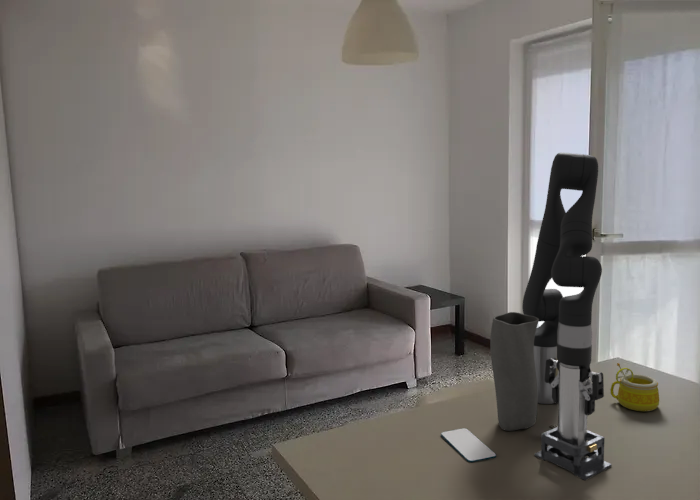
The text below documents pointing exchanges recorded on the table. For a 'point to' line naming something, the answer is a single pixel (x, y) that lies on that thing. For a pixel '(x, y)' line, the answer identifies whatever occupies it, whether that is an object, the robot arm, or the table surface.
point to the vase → (514, 369)
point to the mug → (636, 391)
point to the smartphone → (468, 445)
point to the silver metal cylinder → (571, 409)
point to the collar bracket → (575, 454)
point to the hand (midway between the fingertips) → (572, 408)
